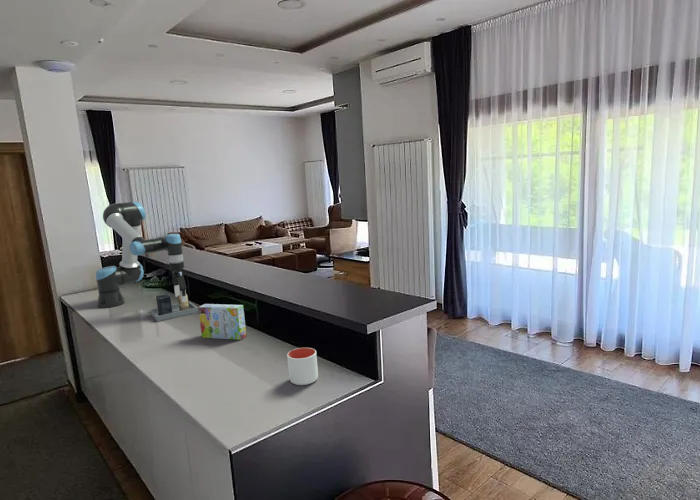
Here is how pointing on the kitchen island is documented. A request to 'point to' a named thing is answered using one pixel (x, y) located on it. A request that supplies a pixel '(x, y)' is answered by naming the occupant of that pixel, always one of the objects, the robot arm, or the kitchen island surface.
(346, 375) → the kitchen island surface
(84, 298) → the kitchen island surface
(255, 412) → the kitchen island surface
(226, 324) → the snack box
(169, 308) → the box
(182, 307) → the canister
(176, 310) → the grey tray
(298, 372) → the cup
